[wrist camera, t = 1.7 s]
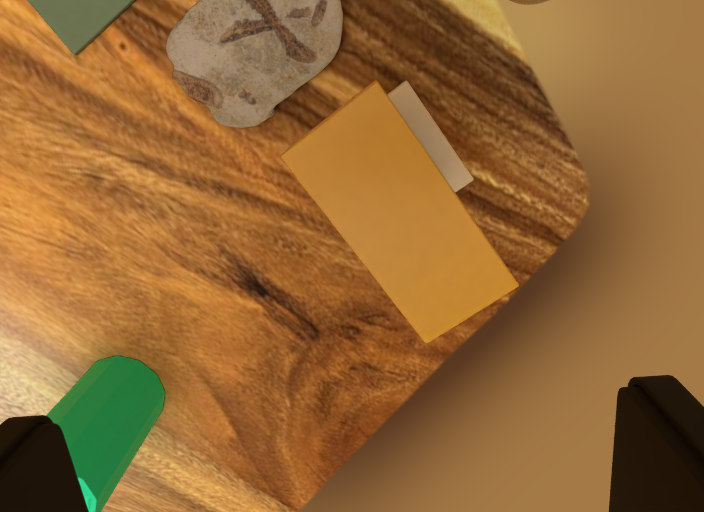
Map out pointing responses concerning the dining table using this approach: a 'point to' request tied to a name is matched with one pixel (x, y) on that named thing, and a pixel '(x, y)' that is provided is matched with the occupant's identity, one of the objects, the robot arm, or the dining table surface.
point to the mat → (79, 18)
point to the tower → (430, 136)
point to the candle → (108, 422)
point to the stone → (252, 53)
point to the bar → (399, 213)
